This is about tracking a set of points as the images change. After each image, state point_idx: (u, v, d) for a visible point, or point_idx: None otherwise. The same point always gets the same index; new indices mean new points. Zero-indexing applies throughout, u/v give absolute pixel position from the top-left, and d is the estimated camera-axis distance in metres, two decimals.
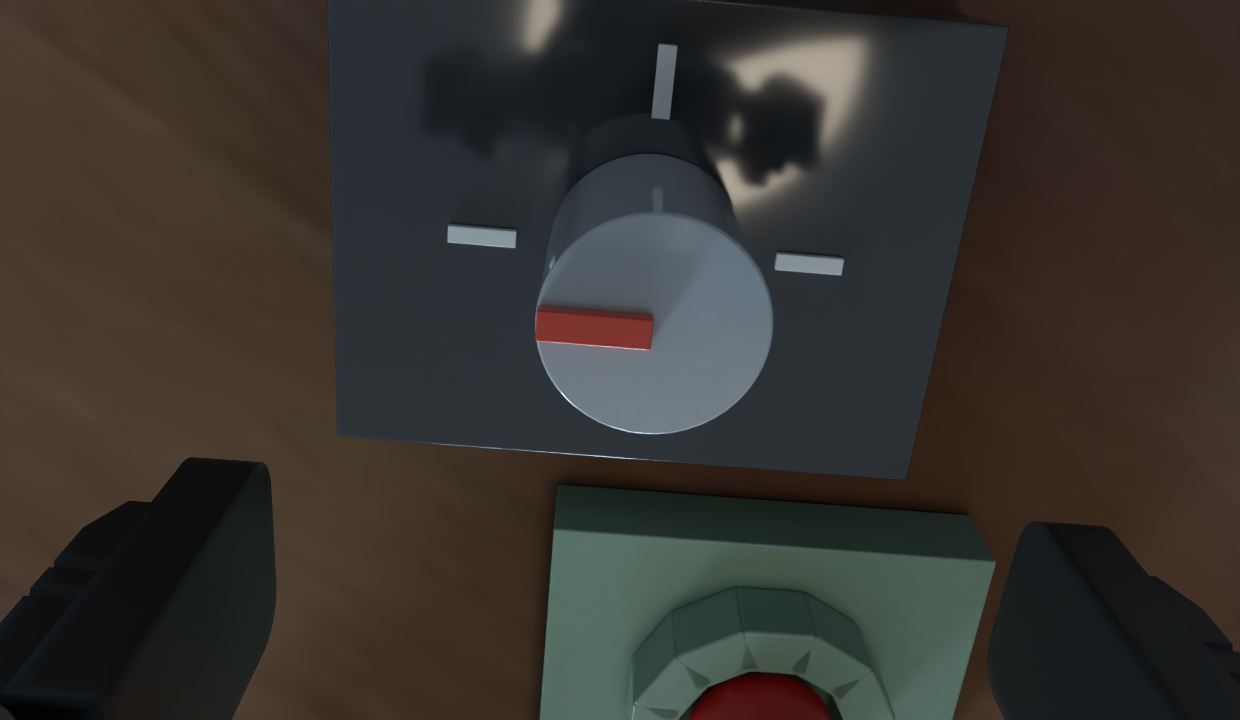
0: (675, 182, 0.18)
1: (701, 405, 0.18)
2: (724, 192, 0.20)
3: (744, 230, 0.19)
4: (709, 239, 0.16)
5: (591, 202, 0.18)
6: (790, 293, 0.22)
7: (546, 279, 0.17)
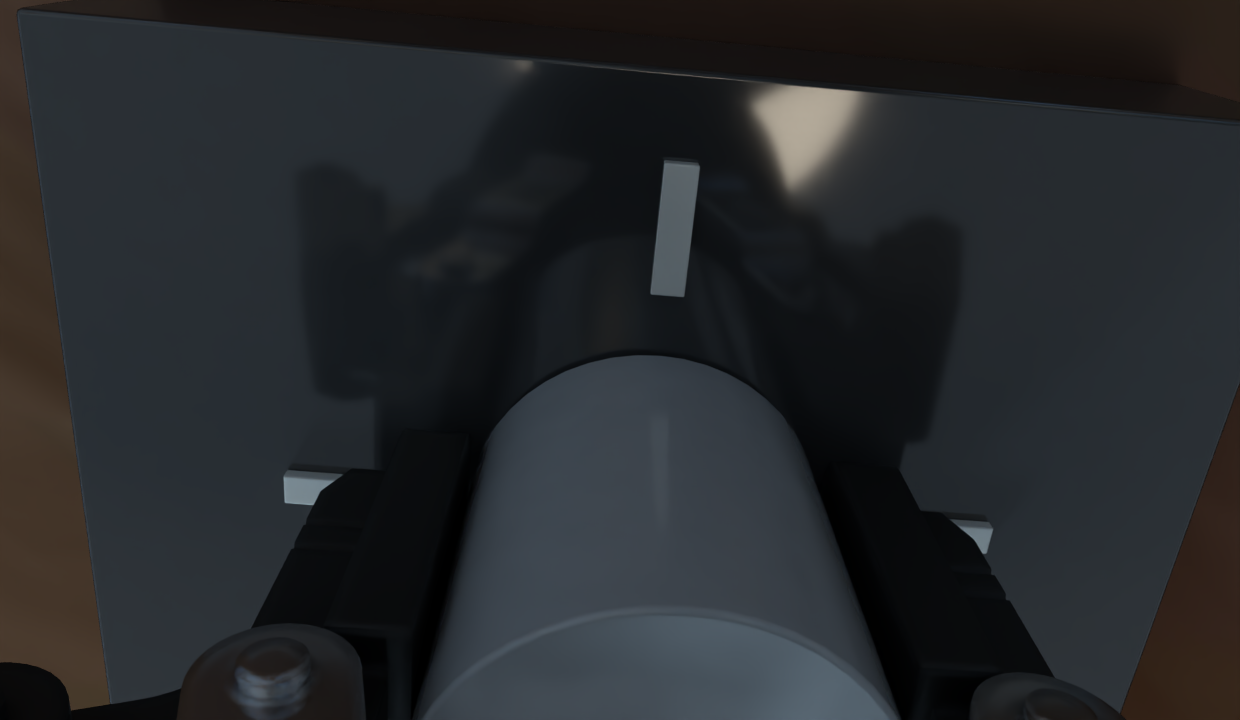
0: (699, 458, 0.09)
1: None
2: (784, 425, 0.11)
3: (829, 521, 0.10)
4: (784, 661, 0.07)
5: (527, 507, 0.09)
6: None
7: None
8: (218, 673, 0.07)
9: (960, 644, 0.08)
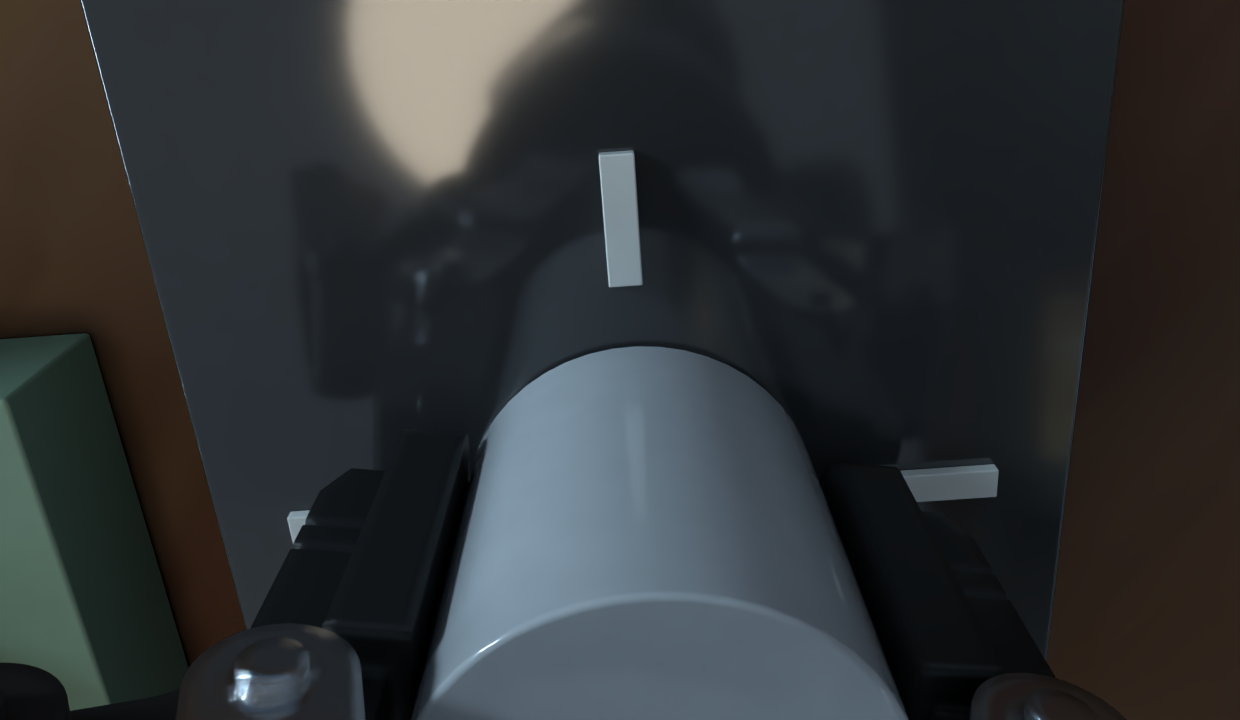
0: (700, 447, 0.09)
1: None
2: (784, 416, 0.11)
3: (829, 511, 0.10)
4: (785, 646, 0.07)
5: (528, 496, 0.09)
6: None
7: None
8: (216, 673, 0.07)
9: (961, 644, 0.08)
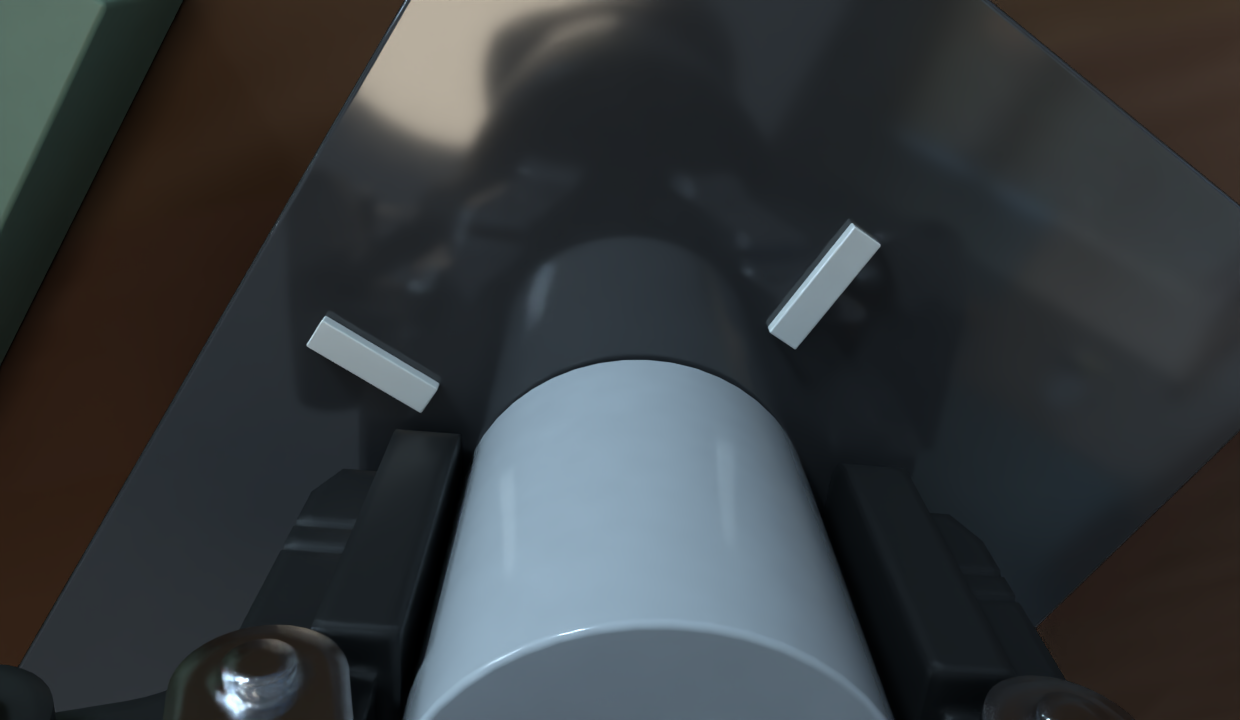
0: (686, 465, 0.09)
1: None
2: (776, 427, 0.11)
3: (822, 524, 0.10)
4: (772, 673, 0.07)
5: (511, 519, 0.09)
6: None
7: None
8: (204, 675, 0.07)
9: (971, 647, 0.08)
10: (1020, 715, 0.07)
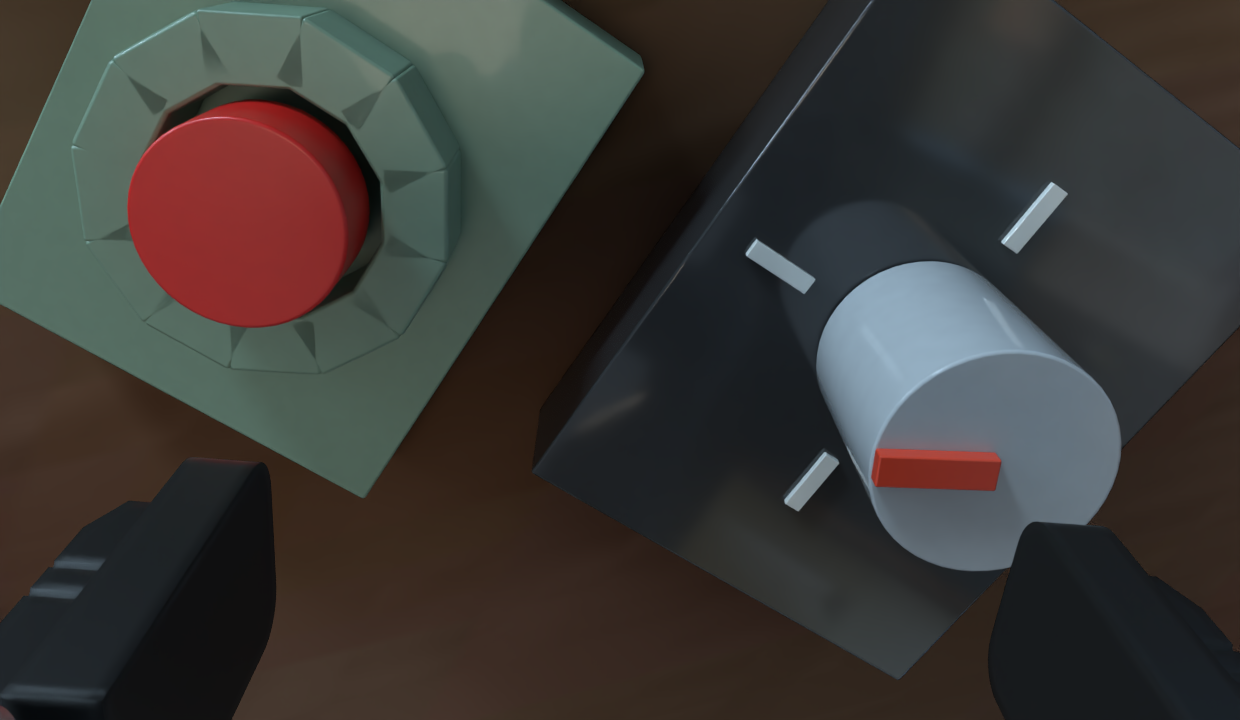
0: (986, 302, 0.17)
1: None
2: None
3: None
4: (1061, 375, 0.16)
5: (903, 329, 0.17)
6: (790, 454, 0.21)
7: (885, 422, 0.16)
8: None
9: None
10: None
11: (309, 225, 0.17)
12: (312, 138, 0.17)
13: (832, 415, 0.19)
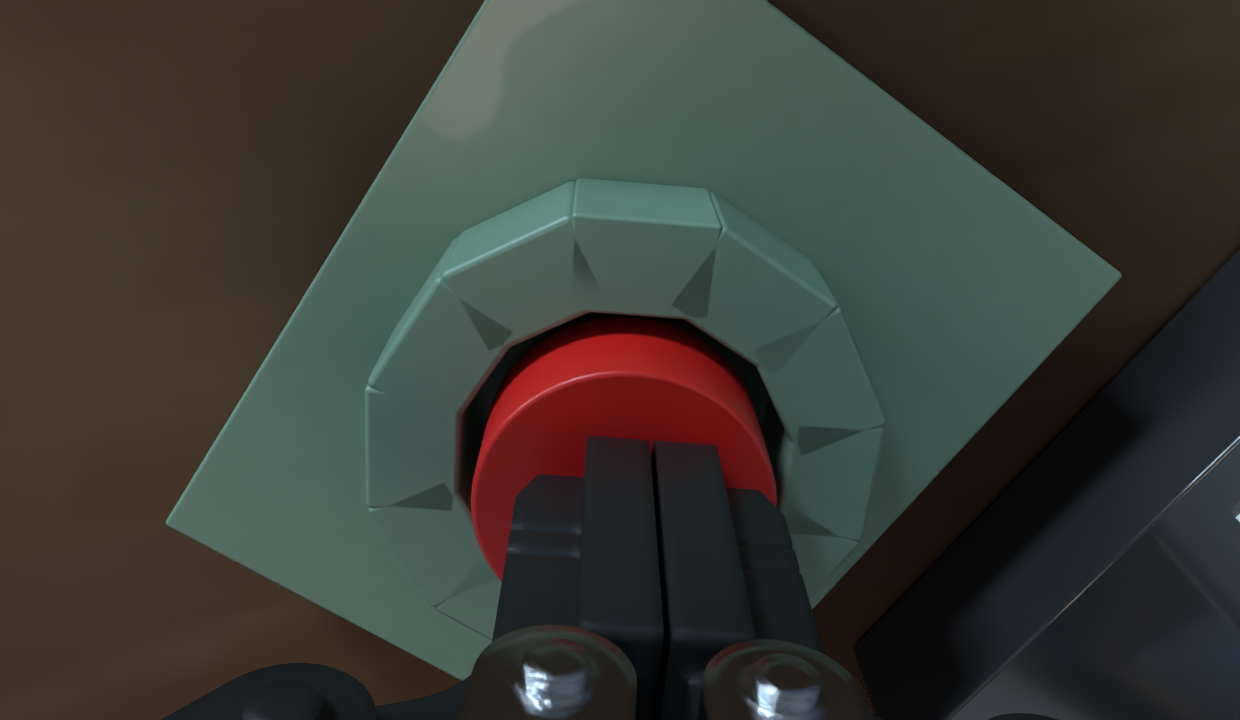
0: None
1: None
2: None
3: None
4: None
5: None
6: None
7: None
8: (506, 661, 0.08)
9: (720, 613, 0.08)
10: (740, 676, 0.08)
11: None
12: (728, 387, 0.12)
13: None
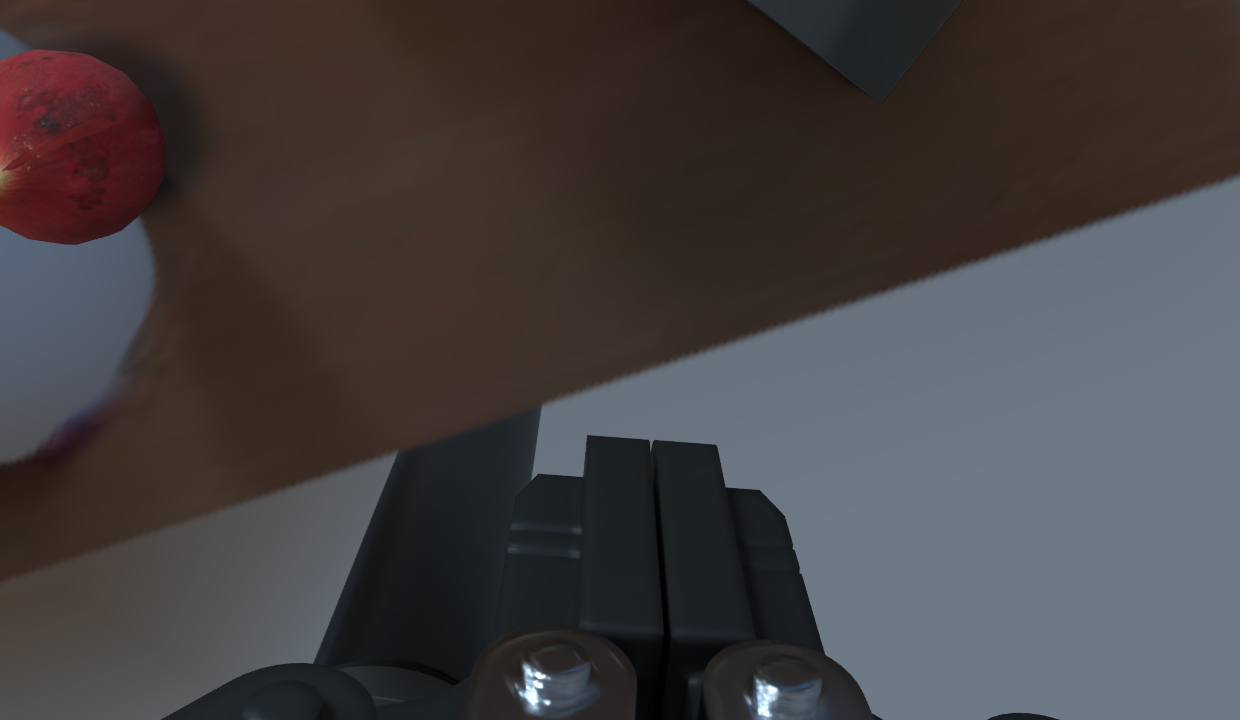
0: None
1: None
2: None
3: None
4: None
5: None
6: None
7: None
8: (506, 661, 0.08)
9: (720, 613, 0.08)
10: (740, 676, 0.08)
11: None
12: None
13: None
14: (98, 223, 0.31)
